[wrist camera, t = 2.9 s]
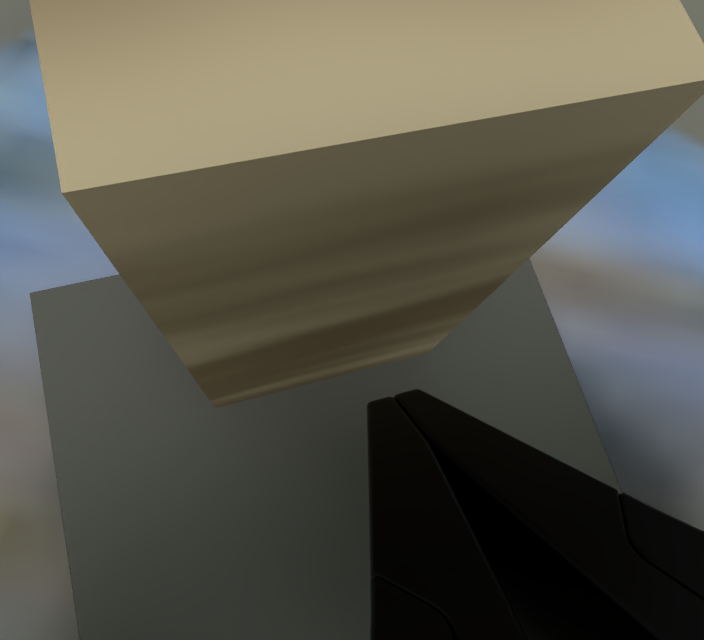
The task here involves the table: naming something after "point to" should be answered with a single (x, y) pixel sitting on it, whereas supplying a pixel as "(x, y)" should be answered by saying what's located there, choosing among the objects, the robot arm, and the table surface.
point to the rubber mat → (260, 464)
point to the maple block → (343, 159)
